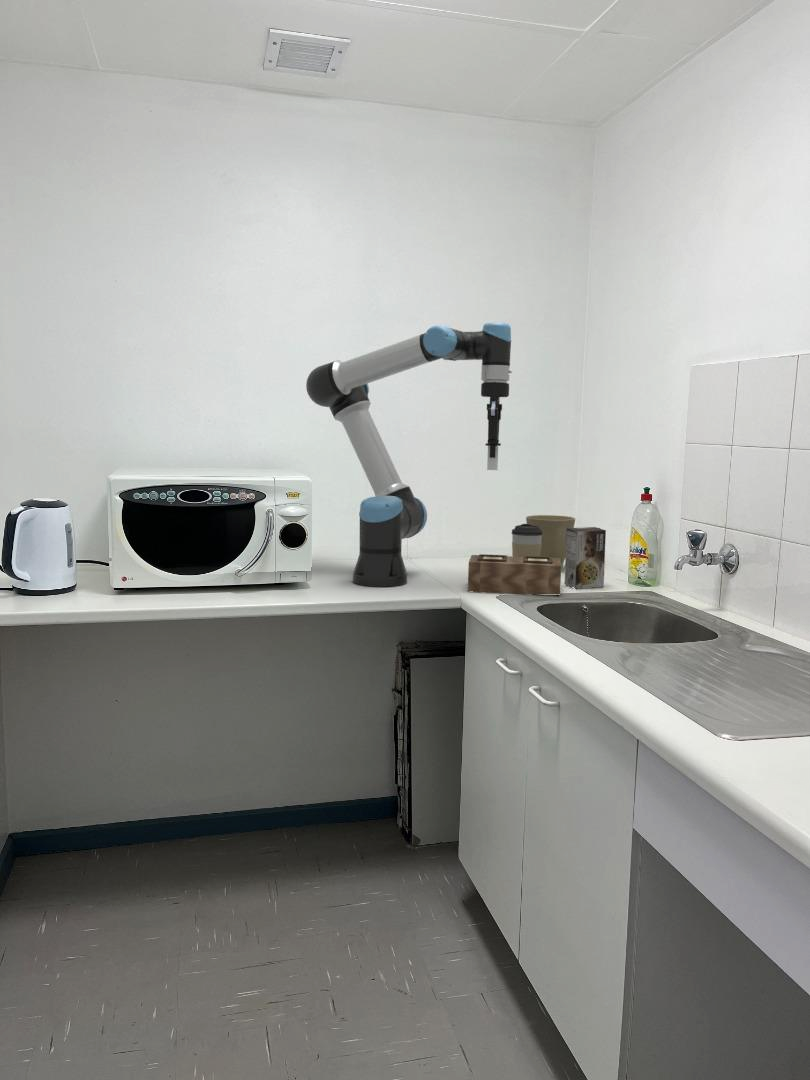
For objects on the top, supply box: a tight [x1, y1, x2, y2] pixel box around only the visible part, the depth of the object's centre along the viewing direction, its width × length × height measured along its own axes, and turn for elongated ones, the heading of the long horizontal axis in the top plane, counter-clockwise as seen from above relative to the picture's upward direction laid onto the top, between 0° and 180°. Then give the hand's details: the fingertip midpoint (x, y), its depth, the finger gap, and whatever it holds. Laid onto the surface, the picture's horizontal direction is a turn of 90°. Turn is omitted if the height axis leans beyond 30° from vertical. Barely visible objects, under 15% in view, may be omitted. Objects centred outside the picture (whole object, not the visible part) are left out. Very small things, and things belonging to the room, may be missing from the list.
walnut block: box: [467, 553, 562, 595], centre depth 222 cm, size 24×12×9 cm, turn 82°
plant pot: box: [525, 514, 576, 568], centre depth 254 cm, size 15×15×16 cm
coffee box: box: [563, 526, 607, 589], centre depth 227 cm, size 9×6×16 cm
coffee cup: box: [511, 523, 543, 557], centre depth 241 cm, size 9×9×15 cm
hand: (492, 469), depth 226 cm, fingers closed
